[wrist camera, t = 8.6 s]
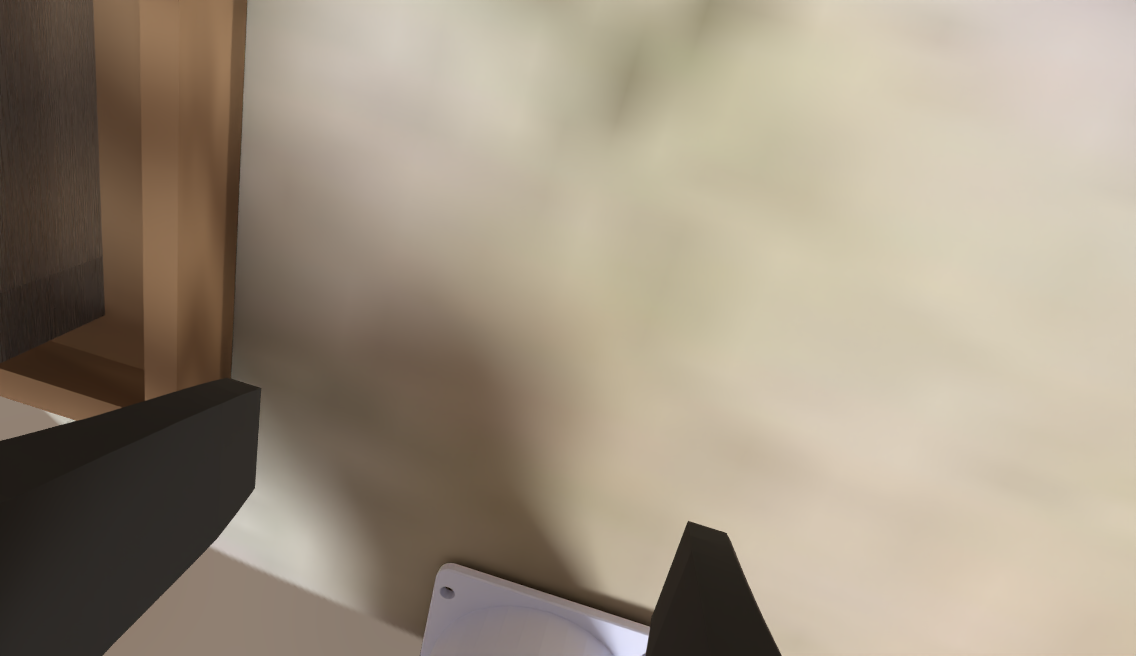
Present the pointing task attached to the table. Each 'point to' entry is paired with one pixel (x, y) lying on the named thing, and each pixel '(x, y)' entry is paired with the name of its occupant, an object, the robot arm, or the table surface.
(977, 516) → the table surface
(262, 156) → the table surface
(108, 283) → the wooden tray
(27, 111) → the slotted metal channel
